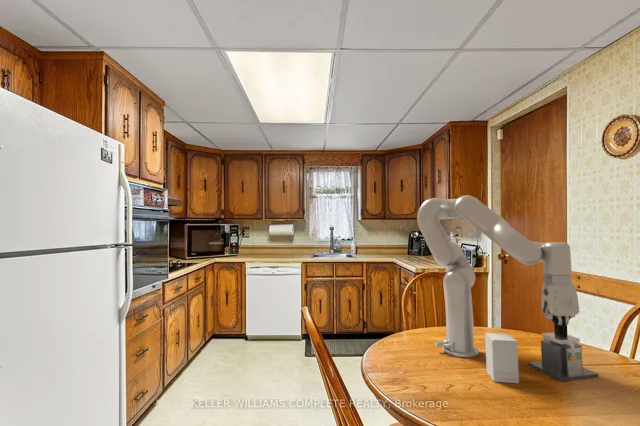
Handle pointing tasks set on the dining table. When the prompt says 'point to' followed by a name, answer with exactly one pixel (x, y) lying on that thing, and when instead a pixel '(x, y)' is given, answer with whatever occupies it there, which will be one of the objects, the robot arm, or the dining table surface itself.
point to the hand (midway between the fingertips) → (561, 336)
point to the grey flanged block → (562, 340)
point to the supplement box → (502, 357)
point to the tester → (562, 362)
